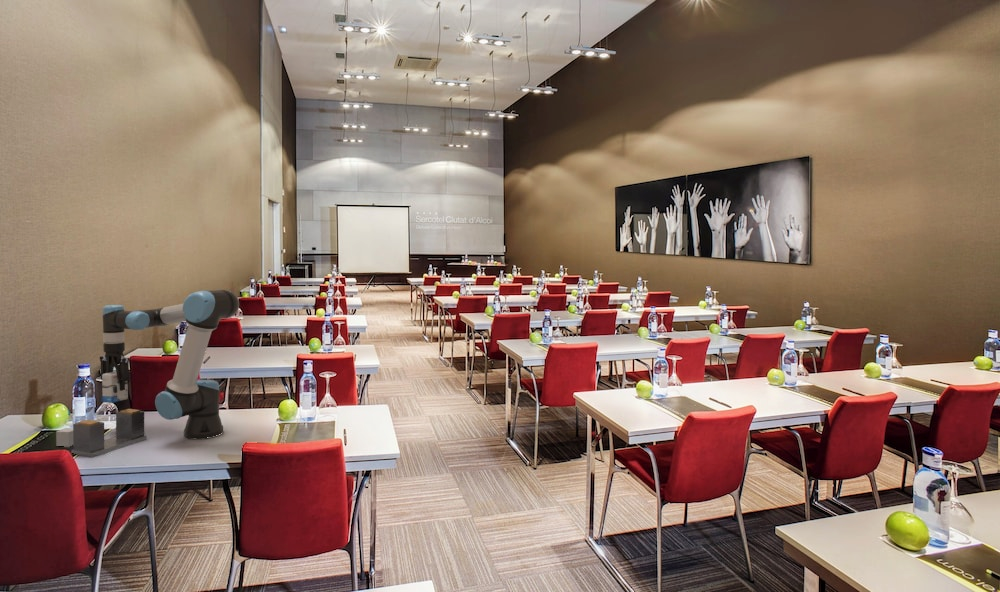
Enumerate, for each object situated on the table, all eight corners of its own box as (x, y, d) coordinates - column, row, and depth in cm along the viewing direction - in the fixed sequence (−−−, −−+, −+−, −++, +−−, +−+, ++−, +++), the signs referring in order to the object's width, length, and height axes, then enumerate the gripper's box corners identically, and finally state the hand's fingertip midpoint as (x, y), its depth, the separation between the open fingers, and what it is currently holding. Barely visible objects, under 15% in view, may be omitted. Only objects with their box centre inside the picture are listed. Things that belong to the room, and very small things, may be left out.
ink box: (112, 403, 253) (111, 374, 252) (101, 402, 254) (101, 374, 253) (128, 398, 261) (128, 371, 260) (118, 398, 262) (117, 370, 261)
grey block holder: (146, 439, 251) (146, 410, 250) (91, 457, 228) (91, 425, 227) (127, 436, 254) (127, 407, 253) (71, 453, 231) (71, 422, 230)
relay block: (78, 443, 243) (78, 428, 243) (69, 447, 238) (68, 432, 238) (65, 442, 244) (65, 427, 243) (56, 446, 239) (56, 431, 238)
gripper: (139, 342, 257) (140, 397, 258) (105, 339, 262) (106, 393, 264) (123, 344, 250) (124, 401, 251) (88, 342, 255) (90, 397, 256)
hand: (115, 397), depth 257 cm, fingers closed on ink box, 5 cm apart
